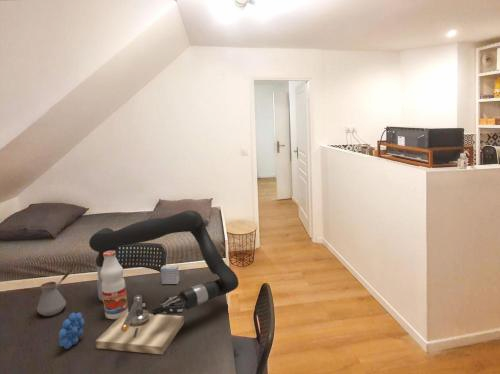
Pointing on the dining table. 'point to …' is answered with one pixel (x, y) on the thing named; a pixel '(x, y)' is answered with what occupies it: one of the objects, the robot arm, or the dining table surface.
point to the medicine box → (170, 274)
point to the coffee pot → (51, 298)
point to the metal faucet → (136, 314)
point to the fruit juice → (113, 286)
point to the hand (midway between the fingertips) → (152, 312)
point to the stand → (142, 334)
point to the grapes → (71, 330)
